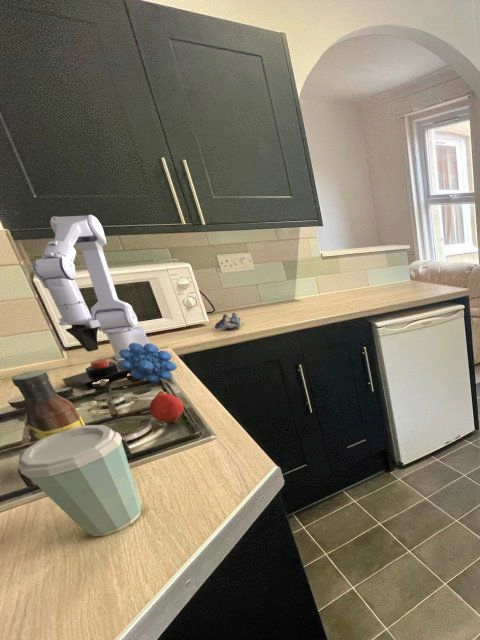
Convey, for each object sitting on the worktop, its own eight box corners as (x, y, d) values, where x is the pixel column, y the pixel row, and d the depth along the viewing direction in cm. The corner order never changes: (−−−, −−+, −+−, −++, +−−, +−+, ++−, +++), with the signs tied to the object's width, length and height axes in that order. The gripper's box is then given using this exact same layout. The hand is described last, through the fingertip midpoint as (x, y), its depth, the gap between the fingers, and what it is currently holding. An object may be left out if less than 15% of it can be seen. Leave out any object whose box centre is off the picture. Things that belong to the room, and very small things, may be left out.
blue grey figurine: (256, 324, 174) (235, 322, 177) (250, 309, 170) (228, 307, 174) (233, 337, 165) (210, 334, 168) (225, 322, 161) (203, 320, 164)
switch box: (122, 368, 130) (117, 356, 129) (144, 371, 127) (139, 359, 125) (66, 386, 119) (59, 373, 117) (89, 390, 115) (82, 377, 113)
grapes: (125, 392, 112) (106, 350, 107) (132, 384, 118) (114, 343, 113) (178, 383, 117) (161, 342, 112) (182, 375, 123) (167, 335, 118)
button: (104, 364, 123) (102, 358, 123) (112, 365, 122) (109, 359, 121) (90, 368, 120) (87, 363, 120) (97, 370, 119) (94, 364, 118)
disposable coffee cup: (163, 519, 65) (122, 436, 59) (68, 562, 58) (10, 472, 52) (149, 492, 72) (111, 414, 65) (62, 527, 64) (10, 444, 58)
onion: (152, 430, 92) (137, 398, 89) (164, 419, 97) (150, 387, 94) (182, 426, 93) (168, 394, 90) (192, 414, 98) (180, 383, 95)
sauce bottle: (72, 465, 80) (18, 369, 72) (112, 457, 82) (63, 363, 74) (52, 484, 75) (-9, 383, 67) (95, 476, 77) (41, 376, 69)
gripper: (36, 305, 114) (60, 352, 119) (67, 308, 109) (90, 357, 114) (69, 300, 120) (90, 345, 125) (99, 302, 115) (120, 348, 120)
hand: (92, 350), depth 120 cm, fingers closed
